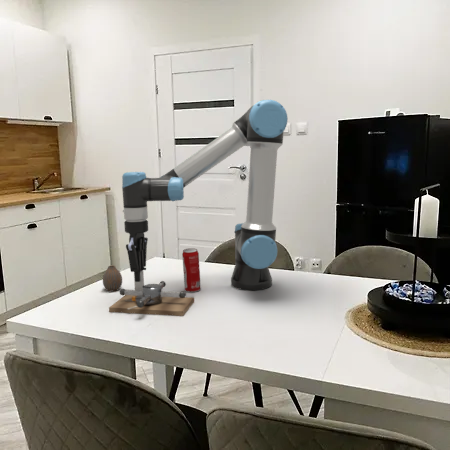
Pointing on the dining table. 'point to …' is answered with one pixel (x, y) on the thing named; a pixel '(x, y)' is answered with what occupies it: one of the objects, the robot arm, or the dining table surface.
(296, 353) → the dining table surface
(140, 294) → the cam capstan
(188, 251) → the beverage can
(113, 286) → the vase
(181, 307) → the brown wooden board
